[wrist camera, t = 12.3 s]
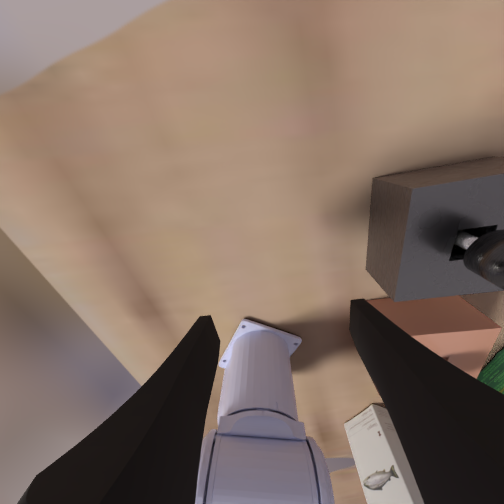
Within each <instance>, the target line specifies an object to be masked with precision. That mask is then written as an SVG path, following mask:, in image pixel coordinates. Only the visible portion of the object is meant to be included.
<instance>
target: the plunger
mask: <svg viewBox="0 0 504 504" xmlns="http://www.w3.org/2000/svg"><path fill="white" fill-rule="evenodd" d="M454 244H456V245H458V246H460V247H462V248H464V249H466V252H465V254H464V258H463V262H464V265H465V267H466V268H467V269H469V270H470V271H472V272H474V273H475V274H477V275H479V276H480V277H482V278H484V279H486V280H487V281H489V282H491V283H492V284H494V285H496V286H498V287H499V288H501V289H503V290H504V230H495V231H492V232H489V233H486V234H484V235H482V236H481V237H479V238H478V237H476V236H474V235H471V234H469V233H466V232H464V231H461V230H458V231H457V234H456V238H455V241H454Z"/></svg>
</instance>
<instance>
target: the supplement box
mask: <svg viewBox="0 0 504 504" xmlns="http://www.w3.org/2000/svg"><path fill="white" fill-rule="evenodd" d="M344 426H345V429H346V433H347V436H348V440H349V443H350V447H351V450H352V453H353V457H354V460H355V463H356V467H357V470H358V474H359V477H360V481H361V484H362V487H363V491H364V494H365V498H366V501H367V504H424V502H423V499H422V496H421V494H420V491H419V489H418V486H417V483H416V481H415V478H414V475H413V473H412V470H411V467H410V465H409V462H408V460H407V457H406V455H405V452H404V450H403V447H402V445H401V442H400V440H399V437H398V435H397V432H396V430H395V428H394V425H393V423H392V420H391V418H390V415H389V413H388V411H387V409H386V408H384V407H381V406H378V405H375V404H371V405H370V406H369V407H368V408H367V409H365V410H364V411H363V412H361V413H360V414H359V415H357V416H356V417H354V418H353V419H351V420H350V421H348V422H346V423H345V424H344Z"/></svg>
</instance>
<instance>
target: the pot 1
mask: <svg viewBox="0 0 504 504" xmlns="http://www.w3.org/2000/svg"><path fill="white" fill-rule="evenodd" d="M458 230H462V231H464V232H466V233H469V234H471V235H474V236H476V237H478V238H479V237H481V236H482V235H484V234H486V233H489V232H492V231H495V230H504V157H490V158H485V159H479V160H473V161H467V162H462V163H456V164H450V165H445V166H439V167H433V168H427V169H422V170H416V171H410V172H405V173H399V174H393V175H388V176H382V177H376V178H373V183H372V196H371V209H370V222H369V235H368V247H367V260H366V270H367V271H368V272H369V274H370V275H371V276H372V277H373V278H374V279H375V281H376V282H377V283H378V284H379V285H380V286H381V288H382V289H383V290H384V291H385V292H386V293H387V294H388V296H389V297H390V298H391V299H392V300H393V301H394V302H400V301H409V300H419V299H428V298H437V297H447V296H456V295H465V294H475V293H484V292H494V291H503V289H501V288H499V287H498V286H496V285H494V284H492V283H491V282H489V281H487V280H486V279H484V278H482V277H480V276H479V275H477V274H475V273H474V272H472V271H470V270H469V269H467V268H466V267H465V265H464V262H463V258H464V254H465V252H466V249H464V248H462V247H460V246H458V245H457V249H456V251H452V248H453V245H454V241H455V238H456V234H457V231H458Z"/></svg>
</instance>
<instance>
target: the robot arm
mask: <svg viewBox="0 0 504 504" xmlns="http://www.w3.org/2000/svg"><path fill="white" fill-rule="evenodd" d="M243 325H245V326H243ZM349 330H350V333H351V335H352V338H353V341H354V344H355V346H356V349H357V351H358V353H359V355H360V357H361V359H362V361H363V363H364V365H365V367H366V369H367V371H368V373H369V375H370V377H371V379H372V381H373V382H374V384H375V386H376V388H377V390H378V392H379V394H380V396H381V398H382V400H383V402H384V404H385V406H386V409H387V411H388V413H389V415H390V418H391V420H392V423H393V425H394V428H395V430H396V432H397V435H398V437H399V440H400V442H401V445H402V447H403V450H404V452H405V455H406V457H407V460H408V462H409V465H410V467H411V470H412V473H413V475H414V478H415V481H416V483H417V486H418V489H419V491H420V494H421V496H422V499H423V502H424V504H504V394H502V393H501V392H499V391H497V390H495V389H493V388H492V387H490V386H488V385H486V384H485V383H483V382H481V381H479V380H478V379H476V378H474V377H472V376H471V375H469V374H467V373H466V372H464V371H463V370H461V369H459V368H458V367H456V366H455V365H453V364H451V363H450V362H448V361H447V360H445V359H443V358H442V357H440V356H439V355H437V354H436V353H434V352H433V351H431V350H430V349H428V348H427V347H426V346H424V345H423V344H421V343H420V342H418V341H417V340H416V339H414V338H413V337H412V336H410V335H409V334H408V333H406V332H405V331H404V330H402V329H401V328H400V327H398V326H397V325H396V324H395V323H393V322H392V321H391V320H389V319H388V318H387V317H386V316H385V315H383V314H382V313H381V312H380V311H378V310H377V309H376V308H375V307H373V306H372V305H371V304H370V303H369V302H367V301H366V300H365V299H356V300H351V305H350V325H349ZM301 342H302V340H301V338H300V337H298V336H295V335H292V334H289V333H286V332H284V331H281V330H278V329H275V328H272V327H269V326H266V325H263V324H260V323H257V322H254V321H251V320H248V319H243V320H242V321H241V323H240V324H239V326H238V328H237V330H236V332H235V334H234V335H233V337H232V339H231V341H230V343H229V345H228V347H227V348H226V350H225V352H224V354H223V356H222V358H221V360H220V361H219V366H220V367H222V368H225V372H224V378H223V384H222V390H221V396H220V402H219V408H218V431H217V429H211V430H210V431H209V432H208V434H207V435H206V436H205V437H204V438H203V432H204V425H205V419H206V414H207V408H208V404H209V400H210V395H211V391H212V386H213V382H214V378H215V373H216V369H217V364H218V358H219V349H220V339H219V337H218V334H217V331H216V328H215V326H214V323H213V320H212V318H211V315H208V316H200V317H199V318H198V319H197V321H196V322H195V323H194V325H193V326H192V327H191V329H190V330H189V331H188V333H187V334H186V335H185V336H184V338H183V339H182V340H181V342H180V343H179V344H178V345H177V347H176V348H175V349H174V351H173V352H172V353H171V354H170V356H169V357H168V358H167V359H166V360H165V361H164V363H163V364H162V365H161V366H160V367H159V368H158V370H157V371H156V372H155V373H154V374H153V375H152V376H151V377H150V378H149V379H148V381H147V382H146V383H145V384H144V385H143V386H142V387H141V388H140V389H139V390H138V391H137V392H136V393H135V394H134V395H133V396H132V397H131V398H129V400H127V401H126V402H125V403H124V404H123V405H122V406H121V407H120V408H119V409H118V410H117V411H116V412H114V414H112V415H111V416H110V417H109V418H108V419H107V420H106V421H104V422H103V423H102V424H101V425H100V426H99V427H97V429H95V430H94V431H93V432H92V433H90V434H89V435H88V436H87V437H85V438H84V439H83V440H82V441H81V442H79V443H78V444H77V445H76V446H74V447H73V448H72V449H70V450H69V451H68V452H67V453H65V454H64V455H63V456H61V457H60V458H59V459H57V460H56V461H55V462H54V463H52V464H51V465H50V466H48V467H47V468H46V469H45V470H43V471H42V472H40V473H39V474H38V475H36V477H35V478H34V480H33V481H32V483H31V484H30V486H29V487H28V488H27V490H26V492H25V493H24V495H23V496H22V497H21V499H20V500H19V502H18V503H17V504H335V503H334V496H333V490H332V484H331V479H330V475H329V471H328V467H327V463H326V460H325V457H324V455H323V452H322V451H321V449H320V447H319V446H318V445H317V443H316V441H315V440H314V439H313V438H312V437H309V436H306V434H305V427H304V423H303V422H298V415H297V407H296V400H295V393H294V385H293V378H292V371H291V363H290V356H291V355H292V354H293V352H294V351H295V350H296V349H297V347H298V346H299V345H300V343H301Z"/></svg>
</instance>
